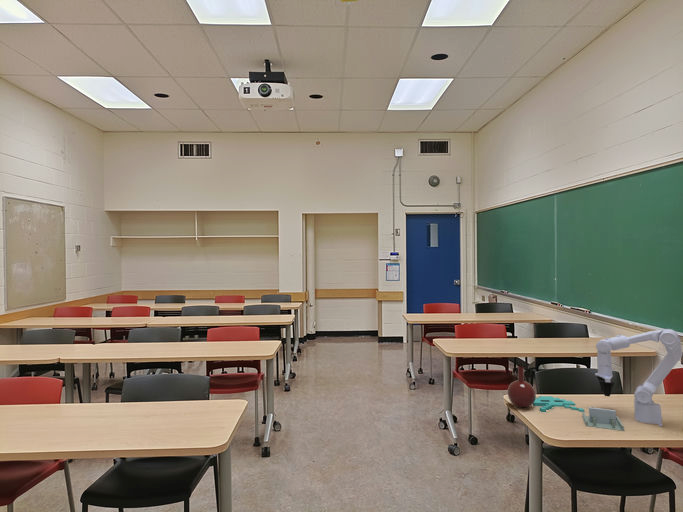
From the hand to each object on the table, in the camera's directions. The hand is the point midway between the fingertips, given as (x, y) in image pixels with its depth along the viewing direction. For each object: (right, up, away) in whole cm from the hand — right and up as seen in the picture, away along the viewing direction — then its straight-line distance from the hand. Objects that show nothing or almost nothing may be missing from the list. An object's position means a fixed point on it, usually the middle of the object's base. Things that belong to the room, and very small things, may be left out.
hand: (605, 393), depth 188 cm
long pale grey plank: (-10, -9, -13) cm, 18 cm away
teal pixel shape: (-18, -11, +12) cm, 25 cm away
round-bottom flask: (-35, -11, +11) cm, 38 cm away
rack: (-10, -10, -13) cm, 19 cm away
